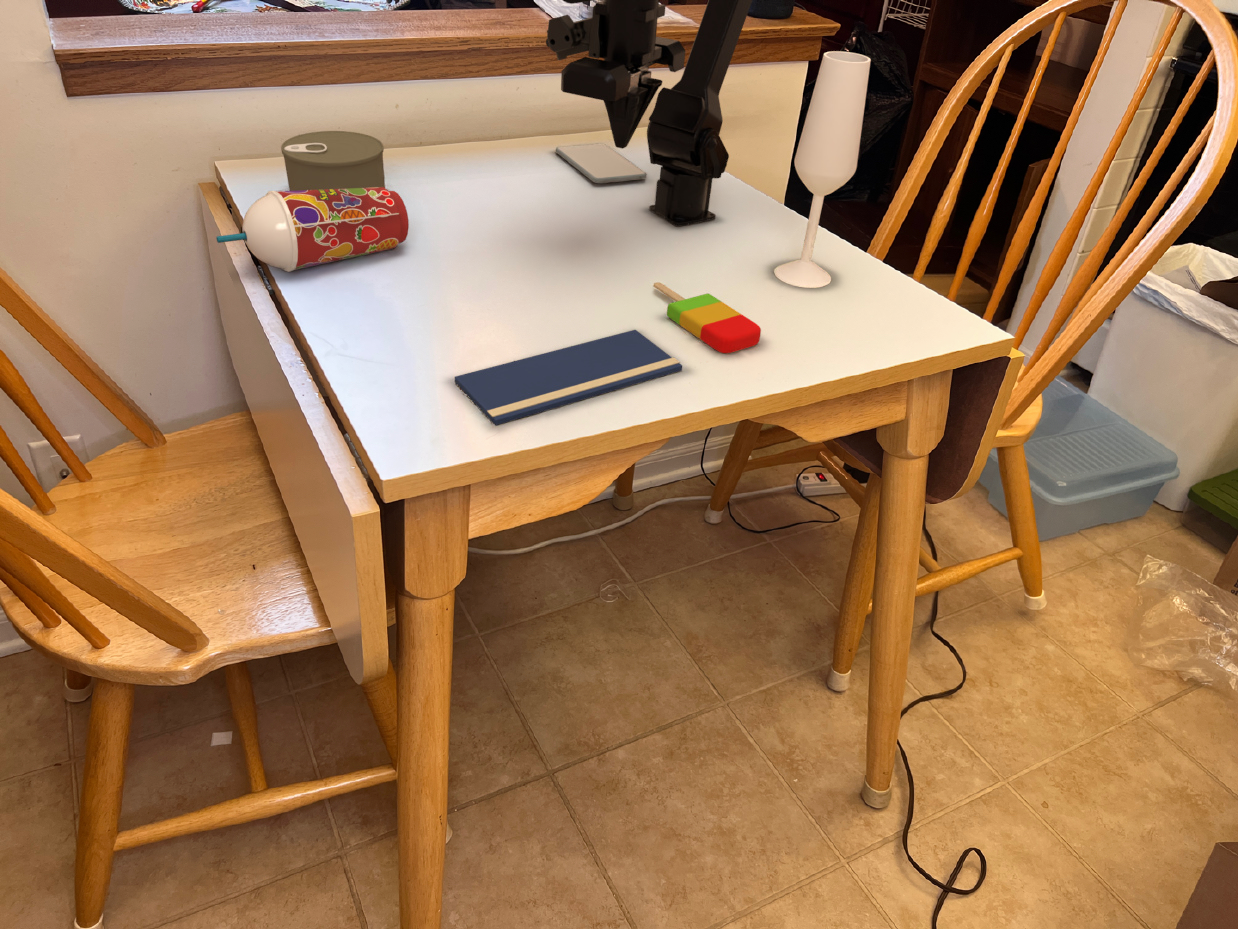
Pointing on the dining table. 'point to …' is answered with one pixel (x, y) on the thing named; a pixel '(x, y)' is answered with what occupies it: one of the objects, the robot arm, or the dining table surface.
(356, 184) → the can
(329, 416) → the dining table surface
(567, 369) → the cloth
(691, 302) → the popsicle
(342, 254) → the smoothie
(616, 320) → the dining table surface
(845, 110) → the champagne flute
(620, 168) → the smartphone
